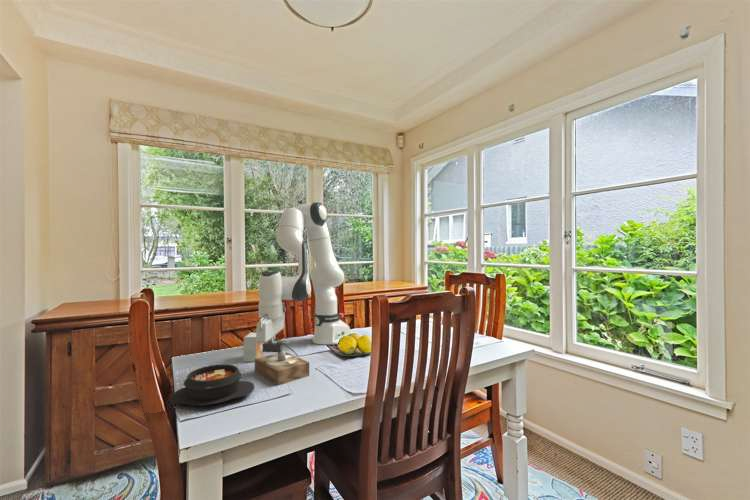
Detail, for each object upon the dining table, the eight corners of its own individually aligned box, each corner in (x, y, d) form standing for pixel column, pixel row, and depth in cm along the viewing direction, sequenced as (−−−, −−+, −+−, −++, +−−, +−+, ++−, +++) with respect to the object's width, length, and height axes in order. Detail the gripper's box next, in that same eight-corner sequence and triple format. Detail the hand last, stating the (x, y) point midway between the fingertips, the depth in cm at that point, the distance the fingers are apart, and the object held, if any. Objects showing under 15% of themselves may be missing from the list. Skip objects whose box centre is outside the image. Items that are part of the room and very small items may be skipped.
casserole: (160, 416, 99) (160, 387, 99) (178, 390, 117) (178, 365, 117) (252, 405, 106) (252, 378, 106) (256, 382, 124) (256, 359, 124)
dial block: (284, 363, 143) (284, 350, 143) (309, 375, 130) (309, 361, 130) (254, 371, 134) (254, 358, 134) (278, 385, 121) (277, 370, 121)
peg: (299, 358, 133) (299, 340, 133) (296, 361, 130) (295, 343, 130) (265, 357, 135) (265, 339, 134) (262, 360, 131) (261, 342, 131)
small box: (256, 362, 145) (256, 337, 145) (243, 361, 145) (243, 337, 145) (263, 355, 153) (263, 332, 153) (250, 355, 153) (250, 332, 153)
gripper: (268, 318, 123) (268, 356, 124) (287, 306, 143) (287, 339, 144) (251, 318, 123) (251, 356, 124) (272, 306, 144) (272, 339, 145)
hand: (271, 347), depth 134 cm, fingers closed, pressing on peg
